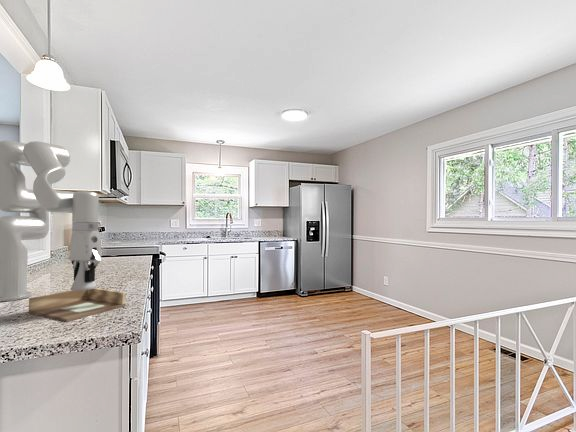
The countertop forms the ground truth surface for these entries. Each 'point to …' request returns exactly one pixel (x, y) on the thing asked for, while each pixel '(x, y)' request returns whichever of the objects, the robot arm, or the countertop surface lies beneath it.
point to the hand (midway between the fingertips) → (84, 280)
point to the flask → (82, 280)
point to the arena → (76, 303)
